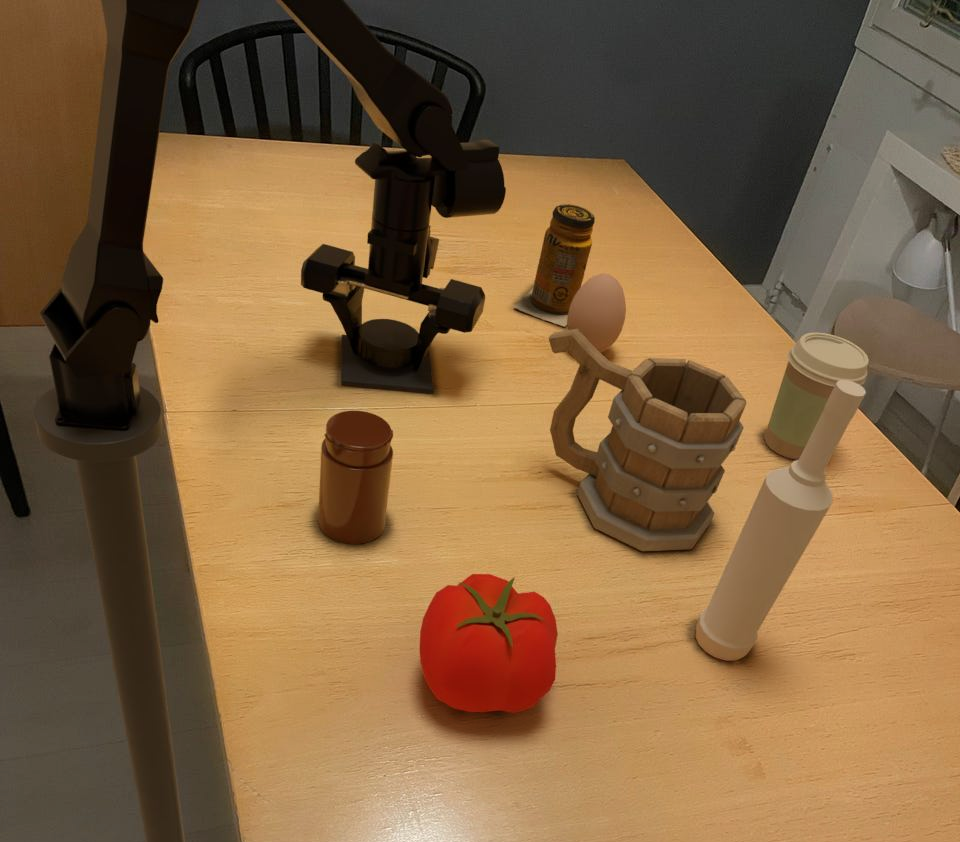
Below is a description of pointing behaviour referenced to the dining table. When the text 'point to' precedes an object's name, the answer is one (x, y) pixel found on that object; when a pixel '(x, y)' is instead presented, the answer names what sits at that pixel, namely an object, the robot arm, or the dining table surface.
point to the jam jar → (355, 477)
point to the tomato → (488, 646)
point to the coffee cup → (811, 388)
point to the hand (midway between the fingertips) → (386, 360)
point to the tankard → (649, 444)
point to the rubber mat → (384, 373)
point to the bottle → (775, 535)
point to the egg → (598, 311)
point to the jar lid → (387, 343)
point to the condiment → (560, 264)
